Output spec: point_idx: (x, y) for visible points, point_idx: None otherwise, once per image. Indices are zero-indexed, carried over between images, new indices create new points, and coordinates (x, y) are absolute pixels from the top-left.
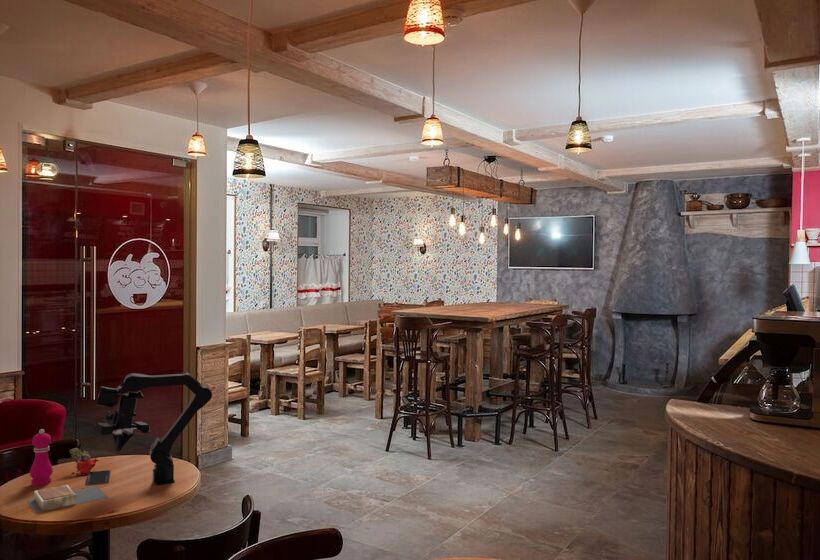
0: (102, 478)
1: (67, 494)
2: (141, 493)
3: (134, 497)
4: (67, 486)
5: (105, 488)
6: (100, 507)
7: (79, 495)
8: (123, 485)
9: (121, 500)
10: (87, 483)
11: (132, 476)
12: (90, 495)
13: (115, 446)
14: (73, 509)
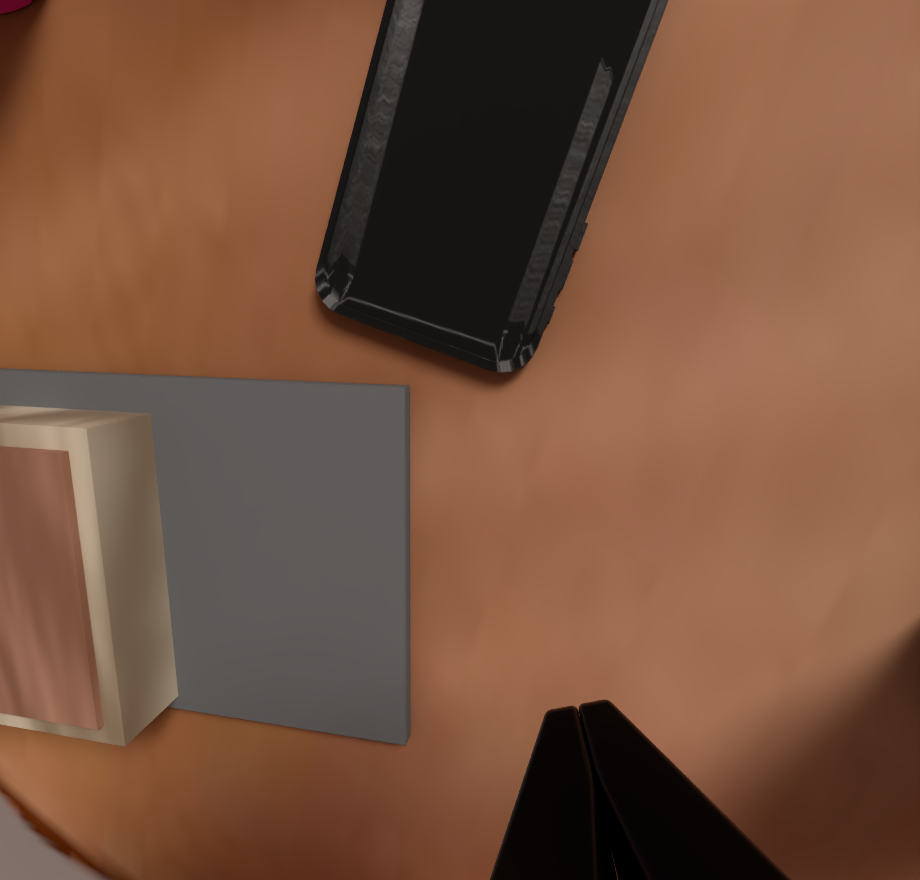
0: (522, 159)
1: (60, 714)
2: None
3: None
4: (82, 488)
5: (470, 459)
6: (322, 834)
7: (225, 539)
8: (644, 488)
9: (489, 820)
10: (346, 242)
11: (866, 242)
12: (298, 601)
13: (518, 834)
14: (164, 740)
